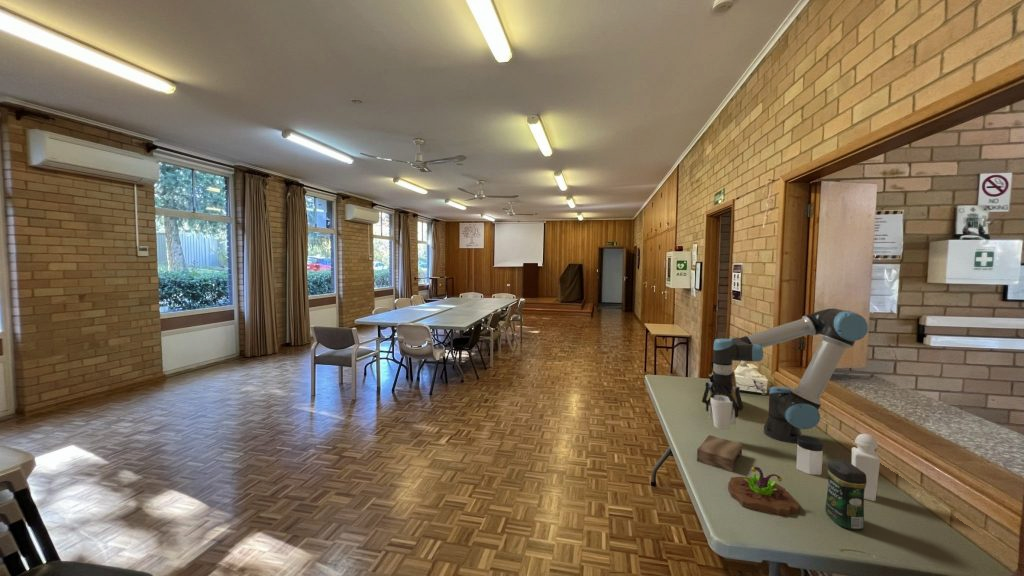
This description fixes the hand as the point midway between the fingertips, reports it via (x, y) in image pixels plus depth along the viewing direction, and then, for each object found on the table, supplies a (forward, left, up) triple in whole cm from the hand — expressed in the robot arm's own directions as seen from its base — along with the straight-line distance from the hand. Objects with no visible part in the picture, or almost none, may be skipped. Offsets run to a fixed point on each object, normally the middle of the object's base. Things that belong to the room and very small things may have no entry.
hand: (721, 421), depth 181 cm
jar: (-33, +5, -10) cm, 34 cm away
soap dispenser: (-49, +14, -10) cm, 52 cm away
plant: (-21, +40, -10) cm, 46 cm away
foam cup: (0, 0, -3) cm, 3 cm away
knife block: (+10, -48, -10) cm, 50 cm away
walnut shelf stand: (-4, +18, -9) cm, 21 cm away
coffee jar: (-44, +37, -10) cm, 58 cm away
